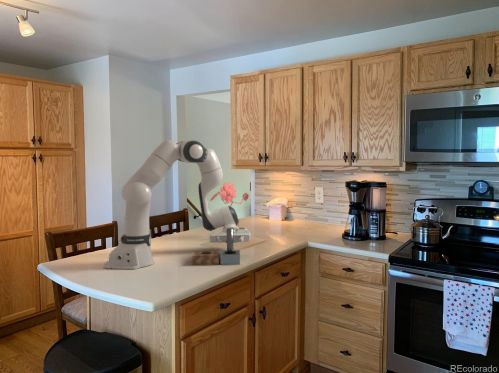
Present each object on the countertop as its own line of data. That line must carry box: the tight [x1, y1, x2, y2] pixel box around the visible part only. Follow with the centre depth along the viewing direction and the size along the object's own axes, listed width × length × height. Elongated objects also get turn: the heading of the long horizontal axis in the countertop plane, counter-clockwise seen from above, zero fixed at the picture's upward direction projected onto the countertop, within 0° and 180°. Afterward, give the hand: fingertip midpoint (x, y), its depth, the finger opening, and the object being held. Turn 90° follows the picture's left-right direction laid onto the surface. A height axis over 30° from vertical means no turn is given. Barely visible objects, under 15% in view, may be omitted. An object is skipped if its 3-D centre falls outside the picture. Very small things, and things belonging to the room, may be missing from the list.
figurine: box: [210, 182, 250, 228], centre depth 232 cm, size 15×26×35 cm, turn 130°
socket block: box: [220, 249, 241, 266], centre depth 183 cm, size 9×9×4 cm
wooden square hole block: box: [192, 250, 220, 266], centre depth 183 cm, size 12×9×4 cm
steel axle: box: [226, 228, 235, 254], centre depth 183 cm, size 3×3×16 cm
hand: (230, 240), depth 181 cm, fingers open, 8 cm apart
